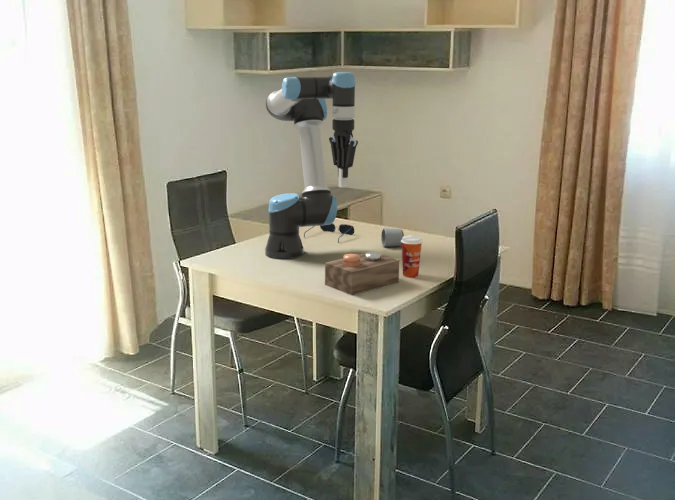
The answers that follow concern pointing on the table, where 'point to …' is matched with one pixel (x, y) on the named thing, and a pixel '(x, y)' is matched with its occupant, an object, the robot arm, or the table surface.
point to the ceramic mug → (391, 237)
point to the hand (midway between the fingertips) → (342, 186)
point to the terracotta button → (351, 260)
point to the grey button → (373, 256)
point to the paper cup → (411, 255)
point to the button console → (361, 274)
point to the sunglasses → (342, 228)
